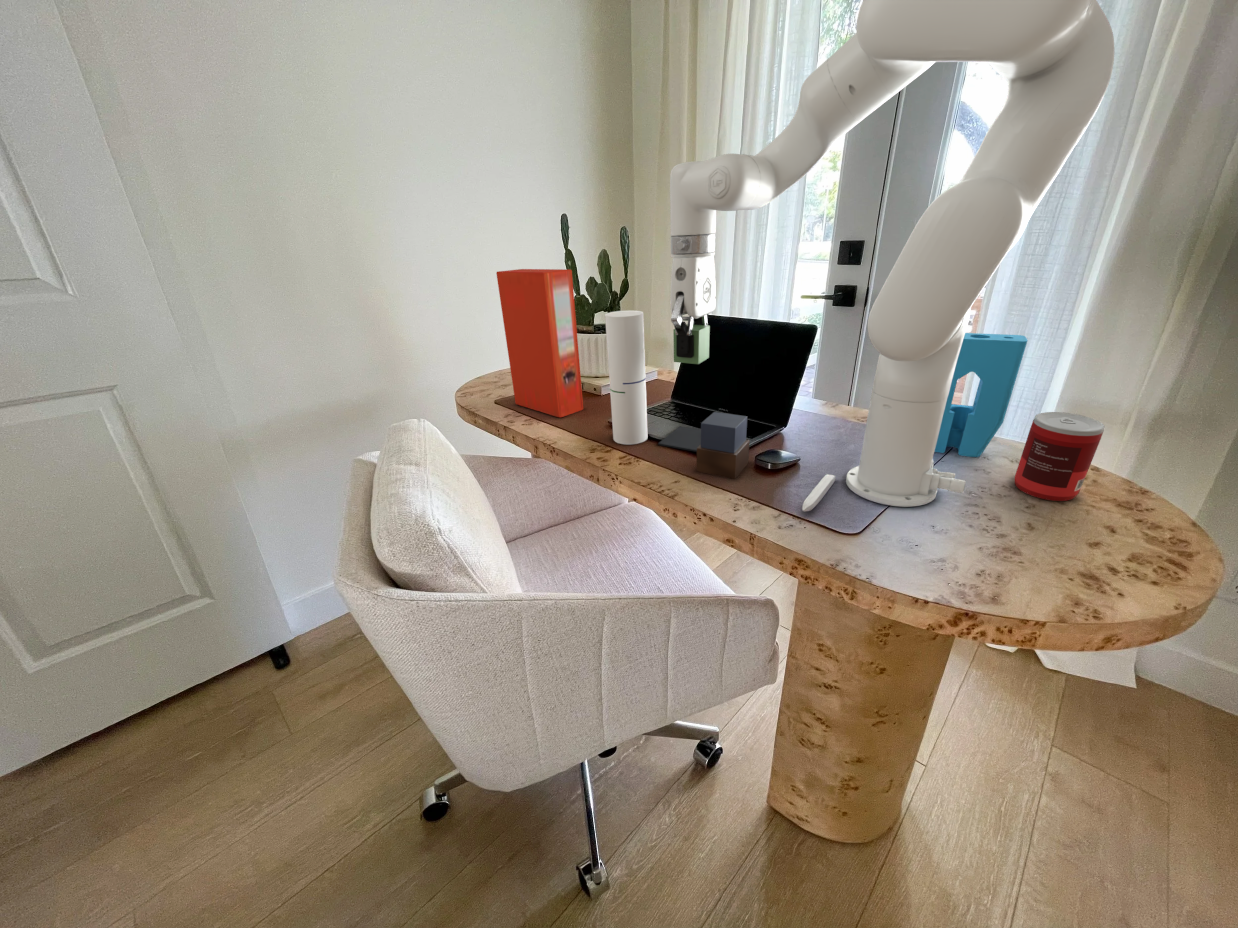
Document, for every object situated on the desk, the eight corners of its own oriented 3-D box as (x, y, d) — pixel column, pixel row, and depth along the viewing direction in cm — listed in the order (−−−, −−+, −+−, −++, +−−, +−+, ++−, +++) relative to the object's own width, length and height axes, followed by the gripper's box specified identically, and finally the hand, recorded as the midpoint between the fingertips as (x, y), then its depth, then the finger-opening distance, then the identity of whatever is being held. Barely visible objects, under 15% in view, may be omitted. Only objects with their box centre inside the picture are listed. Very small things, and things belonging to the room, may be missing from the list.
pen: (796, 516, 71) (797, 506, 70) (826, 478, 81) (828, 469, 80) (807, 519, 70) (808, 509, 69) (836, 481, 80) (838, 472, 79)
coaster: (724, 435, 100) (724, 433, 100) (705, 453, 92) (705, 451, 92) (679, 427, 105) (679, 426, 105) (658, 445, 97) (658, 443, 97)
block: (990, 448, 87) (1024, 335, 79) (992, 459, 83) (1028, 341, 75) (913, 438, 93) (937, 331, 84) (912, 448, 89) (936, 337, 81)
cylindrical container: (648, 443, 98) (643, 315, 87) (612, 445, 99) (604, 317, 88) (647, 430, 105) (642, 309, 94) (613, 432, 105) (605, 311, 94)
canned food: (1061, 478, 76) (1086, 412, 72) (1089, 504, 69) (1119, 432, 65) (1003, 475, 78) (1024, 410, 74) (1026, 500, 72) (1050, 430, 67)
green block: (709, 358, 92) (709, 325, 90) (698, 364, 89) (699, 330, 86) (684, 355, 95) (684, 324, 92) (673, 362, 91) (673, 329, 88)
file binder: (540, 396, 131) (523, 268, 117) (584, 408, 120) (571, 269, 106) (515, 405, 126) (495, 272, 112) (559, 418, 115) (542, 272, 101)
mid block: (746, 440, 86) (747, 416, 84) (734, 453, 81) (735, 428, 79) (713, 435, 89) (714, 411, 87) (700, 447, 84) (700, 423, 82)
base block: (748, 462, 88) (749, 439, 86) (734, 479, 83) (736, 455, 81) (711, 456, 91) (712, 433, 89) (696, 471, 86) (696, 448, 84)
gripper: (692, 249, 75) (691, 366, 83) (731, 243, 88) (727, 345, 96) (649, 251, 79) (652, 362, 87) (692, 244, 92) (691, 342, 99)
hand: (691, 352), depth 91 cm, fingers closed on green block, 5 cm apart
